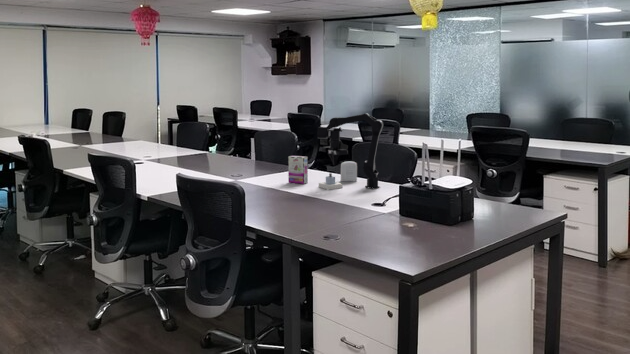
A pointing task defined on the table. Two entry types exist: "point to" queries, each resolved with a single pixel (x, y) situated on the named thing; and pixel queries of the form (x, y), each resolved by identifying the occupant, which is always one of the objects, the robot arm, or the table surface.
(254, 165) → the table surface
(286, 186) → the table surface
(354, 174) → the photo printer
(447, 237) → the table surface
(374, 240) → the table surface
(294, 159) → the candy bar box
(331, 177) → the plug
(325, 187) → the socket plate
